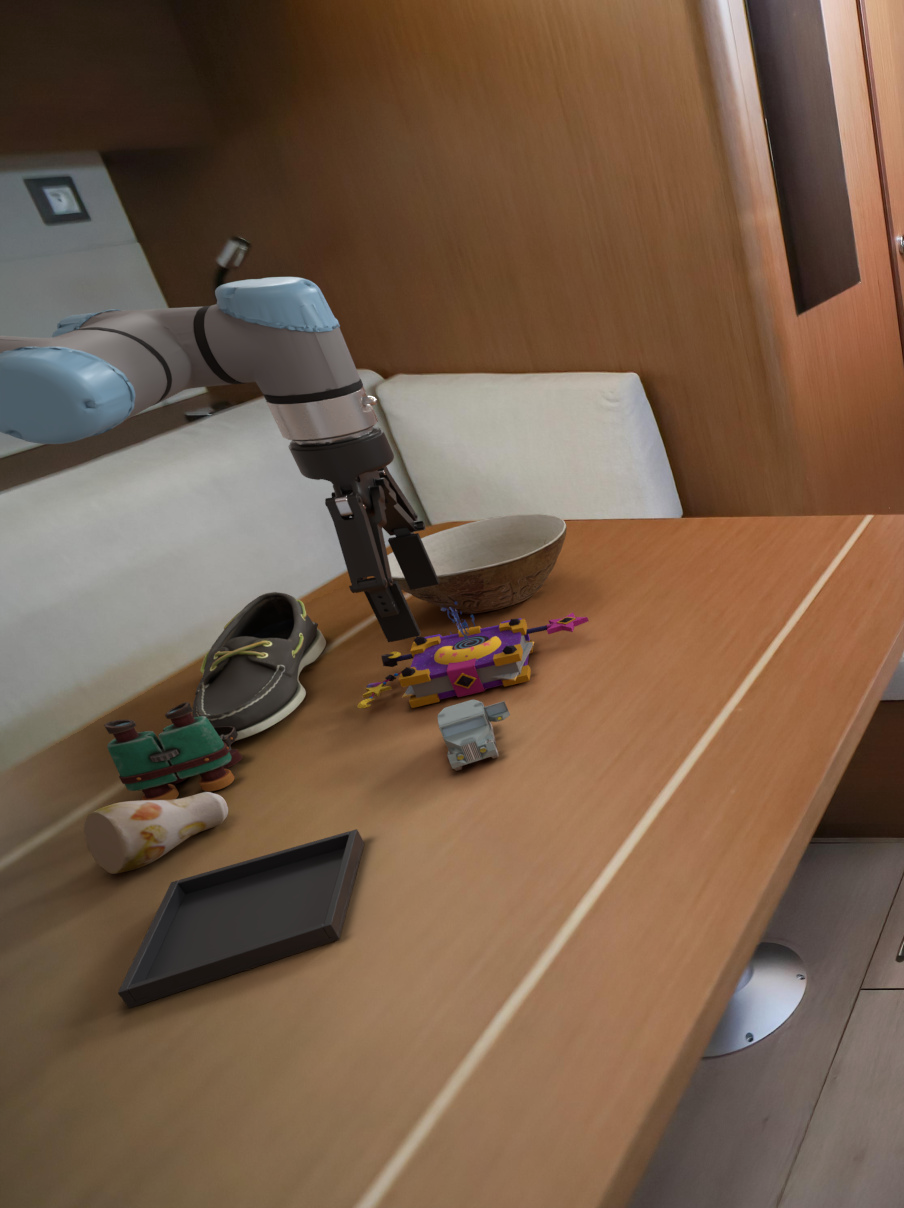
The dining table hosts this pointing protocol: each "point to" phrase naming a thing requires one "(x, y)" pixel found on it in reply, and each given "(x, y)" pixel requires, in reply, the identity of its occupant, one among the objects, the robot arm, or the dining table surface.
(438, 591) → the bowl
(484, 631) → the purple toy
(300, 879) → the tray
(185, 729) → the binoculars
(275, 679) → the boat shoe
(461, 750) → the toy car
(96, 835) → the mug
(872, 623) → the dining table surface
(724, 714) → the dining table surface
